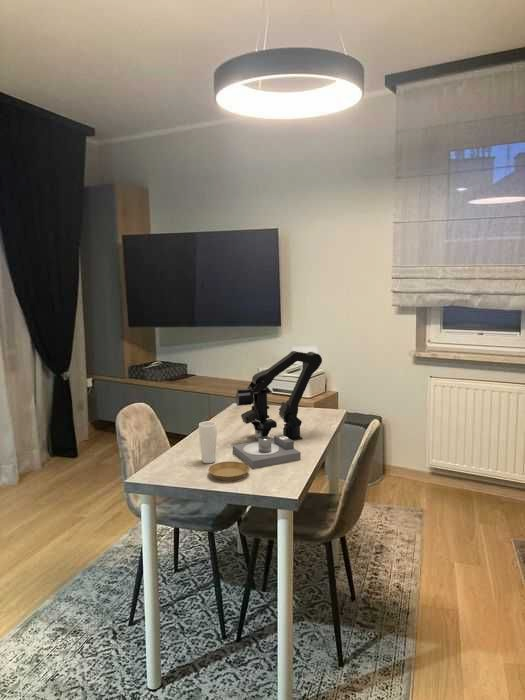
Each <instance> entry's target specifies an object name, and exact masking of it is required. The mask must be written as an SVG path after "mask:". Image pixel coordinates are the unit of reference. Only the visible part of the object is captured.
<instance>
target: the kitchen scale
mask: <svg viewBox="0 0 525 700" xmlns="http://www.w3.org/2000/svg"><path fill="white" fill-rule="evenodd" d="M271 450H272V451H271V452H269V453H260V452H259V448H258V441H251V442H245V443H244V442H243V443H239V444H232V453H233V454H234V455H235V456H237V457H238V458H239V459H241V461H243V463H244V464H247V465H248V466H249V468H251V469H253V470H255V469H259V468H265V467H270V466H275V465H280V464H287V463H291V462H296V461H300V460H301V457H302V456H301V455H302V454H301V452H300V451H299V450H297V449H296V448H295V440H291V439H289V438H288V437H286V436H284V435H283V434H275V435H274V436H273V438H271Z"/></svg>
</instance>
